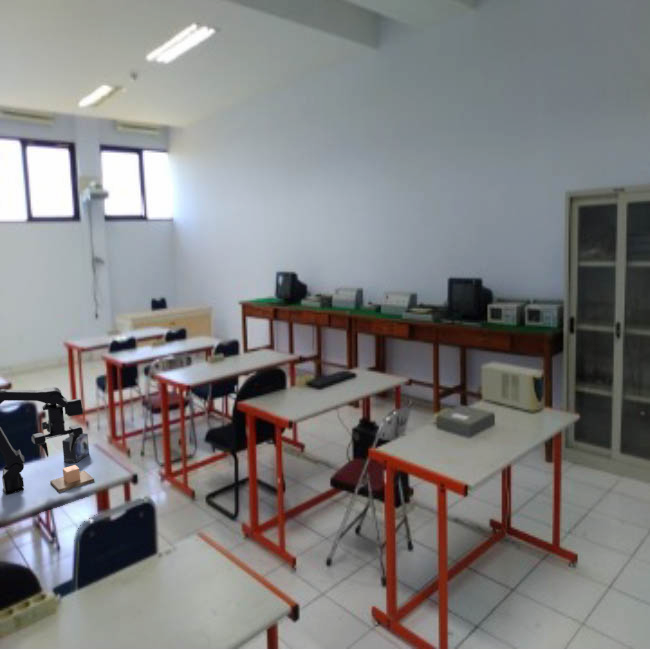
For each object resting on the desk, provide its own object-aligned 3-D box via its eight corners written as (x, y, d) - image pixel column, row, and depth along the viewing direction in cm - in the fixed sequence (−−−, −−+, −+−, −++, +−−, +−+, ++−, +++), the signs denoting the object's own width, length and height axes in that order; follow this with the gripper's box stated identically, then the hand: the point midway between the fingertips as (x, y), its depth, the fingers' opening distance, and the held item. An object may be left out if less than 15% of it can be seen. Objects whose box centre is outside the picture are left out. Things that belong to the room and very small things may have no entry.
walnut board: (59, 492, 226) (58, 489, 225) (50, 483, 234) (50, 480, 233) (94, 481, 235) (93, 478, 235) (84, 472, 243) (84, 470, 243)
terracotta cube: (67, 483, 231) (66, 472, 230) (63, 479, 234) (62, 468, 233) (80, 479, 234) (79, 468, 233) (76, 475, 238) (75, 464, 237)
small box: (76, 463, 253) (73, 441, 251) (63, 462, 254) (61, 440, 252) (90, 454, 263) (88, 433, 261) (77, 453, 264) (75, 432, 262)
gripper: (73, 408, 244) (76, 442, 247) (26, 418, 232) (30, 453, 235) (81, 415, 236) (84, 450, 238) (33, 425, 224) (37, 462, 226)
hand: (59, 453), depth 235 cm, fingers open, 9 cm apart
